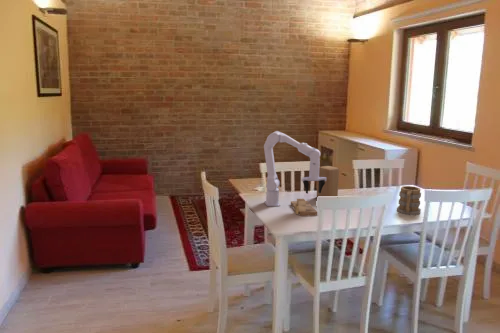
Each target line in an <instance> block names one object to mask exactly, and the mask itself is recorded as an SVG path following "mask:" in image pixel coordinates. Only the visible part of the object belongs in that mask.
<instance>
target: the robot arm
mask: <svg viewBox="0 0 500 333" xmlns="http://www.w3.org/2000/svg"><path fill="white" fill-rule="evenodd" d="M277 143H286V144H288V145H291V146H293V147H294V148H296V149H297V151H298V152H299V153H301V154H303V155H305V156H306V157H309V160H310V161H309V170H308V172H309V173H308V176H305V177H300V178H301V182H302V184H303V185H304V189H305V193H306V194H309V184H310V183H309V182H317V181H319V190H318V192H319V193H321V190H322V188H323V186H324V184H325V181H326V177H319V168H320V167H321V166H320V164H321V163H320V161H321V159H320V157H321V154H322V153H321V151H320V150H319V149H318V148H315V147H314V146H313V147H312V146H310V145H309V144H308V143H307V142H299V141H297V140H295V139H294V138H292V137H291V136H289V135H288V134H286V133H283V132H281V131H279V130H275V131H274V132H271V133H270V134H269V135H268V136H267V137H266V140H265V142H264V144H263V149H264V158H265V164H266V172H267V176H266V184H265V185H266V187H265V188H266V192H265V194H266V197H265V200H264V204H265V205H266V207H279V206H281V204H280V203H279V202H280V201H279V199H280V189H279V187H280V185H281V182H280V180H279V178H278V174H277V171H276V164H275V163H276V162H275V156H274V155H275V154H274V147H275V145H276V144H277Z"/></svg>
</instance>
